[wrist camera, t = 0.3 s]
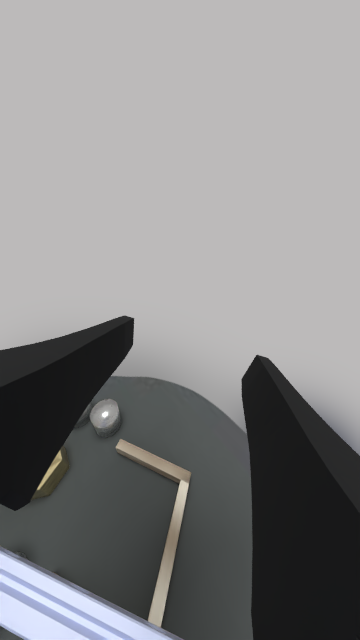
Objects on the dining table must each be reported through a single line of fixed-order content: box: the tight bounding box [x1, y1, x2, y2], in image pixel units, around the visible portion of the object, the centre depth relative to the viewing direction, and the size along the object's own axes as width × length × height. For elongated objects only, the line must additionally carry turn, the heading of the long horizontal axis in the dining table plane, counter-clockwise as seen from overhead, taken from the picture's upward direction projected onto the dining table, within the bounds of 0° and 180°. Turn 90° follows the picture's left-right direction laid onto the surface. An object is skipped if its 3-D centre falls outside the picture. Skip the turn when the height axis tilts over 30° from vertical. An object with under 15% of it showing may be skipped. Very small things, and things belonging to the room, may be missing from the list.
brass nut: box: [31, 446, 70, 500], centre depth 18 cm, size 5×4×3 cm
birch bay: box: [52, 439, 191, 628], centre depth 16 cm, size 11×10×2 cm
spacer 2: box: [90, 399, 121, 438], centre depth 23 cm, size 4×4×4 cm
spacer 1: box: [74, 403, 93, 428], centre depth 24 cm, size 4×4×4 cm
